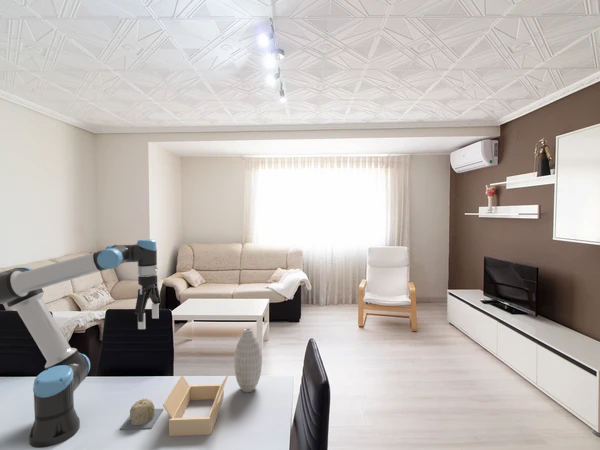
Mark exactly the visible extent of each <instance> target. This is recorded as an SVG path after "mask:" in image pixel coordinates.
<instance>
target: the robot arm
mask: <svg viewBox="0 0 600 450" xmlns="http://www.w3.org/2000/svg"><path fill="white" fill-rule="evenodd" d="M157 251H158V250H157V241H156V240H155V239H150V238H149V239H148V238H147V239H138V240H137V242H136V244H114V245H107V246H106V247H105V249H103V250H98V251H96V252H91V253H87V254H84V255H81V256H77V257H73V258H70V259H64V260H62V261H58V262H54V263H51V264H47V265H44V266H40V267H36V268H31V267H28V266H27V267H26V266H22V267H14V268H12V269H11V268H10V269H8V270H5V271H1V272H0V305H3V304H6V305H7V306H8V308H9V309H13V310H16V312H17V313H18V315H19V317H20V318H21V320H22V321H23V323H24V325H25V327H26V328H27V330H28V332H29V333H30V335H31V337H32V338H33V340H34V342H35V343H36V345H37V347H38V348H39V350H40V352H41V354H42V355H43V357H44V359H45V360H46V363H45V365H44V369H45V370H43V371H42V372H40V373H39V374H38V375H36V377H35V379H34V381H33V387H32V391H33V404H34V405H33V406H34V409H33V410H34V421H33V423H32V427H31V429H30V431H29V432H30V433H29V436H28V444H29V446H31V447H33V448H35V449H37V448H39V449H40V448H41V449H43V448H49V447H52V446H56V445H59V444H61V443H63V442H65V441H66V440H68V439H70V438H72V436H74V435H75V434H76V433H77V432H78V431H79V429H80V428H81V421H80V420H81V419H80V417H79V416H78V414H77V412H76V409H75V407H74V405H75V404H74V403H75V402H74V400H75V399H74V393H75V391H76V390H77V389H78V387H79V386H80V384H82V382H83V381H84V380H86V378H87V377H88V374H89V372H90V369H91V361H90V359H89V357H88V356H87V355H86V354H84V353H81V352H79V351H78V349H77V348H75V347H71V345H70V344H69V342H68V340H67V339H66V337H65V335H64V333H62V330H61V329H60V328H59V325H58V323H57V321H56V320H55V318H54V316H53V315H52V313H51V311H50V309H49V308H48V306H47V305H46V302H45V301H44V299H43V296H44V290H43V289H44V288H47V287H50V286H54V285H57V284H61V283H65V282H67V281H72V280H74V279H78V278H81V277H85V276H88V275H92V274H95V273H98V272H102V271H106V270H112V269H115V268H117V267H119V266H120V265H122V264H124V263H137V275H138V277H137V278H138V279H137V281H138V283H137V284H138V285H139V286H141V288H139V289H137V298H136V303H135V309H134V314H135V315H137V329H138V330H146V329H147V328H146V312H145V310H146V306H147V303H148V301H149V299H150V300H151V318H152V319H159V318H160V317H159V316H160V314H159V313H160V311H159V310H160V309H159V307H160V306H159V305H160V304H161V303H162V302H161V300H162V299H161V296H160V295H161V294H160V291H159V288H158V275H157V274H158V269H159V267H158V262H157V261H158V260H157V259H158V253H157Z"/></svg>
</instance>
